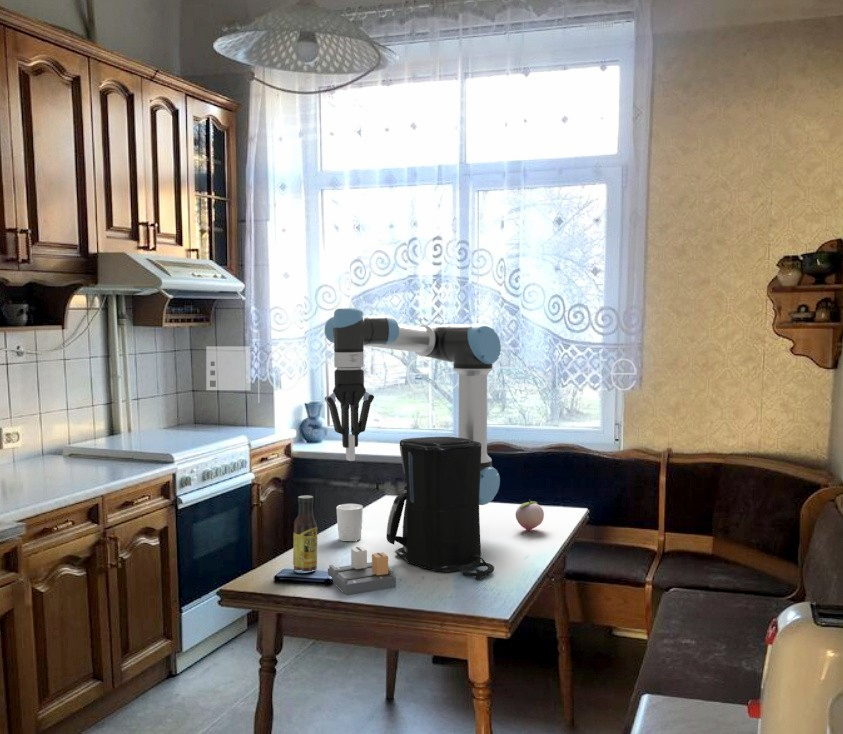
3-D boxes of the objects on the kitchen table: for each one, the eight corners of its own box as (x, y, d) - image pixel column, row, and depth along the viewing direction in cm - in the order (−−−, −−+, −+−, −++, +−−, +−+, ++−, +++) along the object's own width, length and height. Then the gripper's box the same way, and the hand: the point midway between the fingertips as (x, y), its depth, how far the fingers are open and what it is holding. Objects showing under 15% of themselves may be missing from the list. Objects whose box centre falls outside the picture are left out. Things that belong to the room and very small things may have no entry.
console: (327, 578, 205) (327, 563, 205) (375, 571, 210) (374, 557, 210) (346, 594, 192) (346, 579, 192) (395, 587, 198) (395, 572, 197)
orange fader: (372, 571, 200) (371, 553, 200) (383, 569, 202) (382, 551, 201) (377, 575, 197) (377, 556, 197) (388, 573, 198) (388, 555, 198)
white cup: (332, 541, 239) (331, 508, 238) (344, 534, 246) (344, 502, 246) (355, 544, 236) (355, 510, 235) (367, 537, 243) (367, 504, 243)
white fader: (351, 565, 205) (351, 547, 205) (362, 563, 207) (362, 546, 206) (355, 569, 202) (355, 551, 202) (367, 567, 204) (366, 549, 203)
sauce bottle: (306, 576, 206) (305, 500, 205) (288, 572, 209) (287, 497, 208) (322, 569, 212) (321, 495, 211) (304, 566, 215) (303, 493, 214)
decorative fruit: (536, 536, 243) (536, 503, 243) (512, 532, 247) (512, 500, 247) (548, 529, 251) (548, 497, 251) (524, 525, 255) (524, 495, 255)
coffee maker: (424, 542, 237) (424, 430, 235) (521, 560, 219) (521, 438, 217) (377, 561, 219) (376, 439, 217) (478, 583, 200) (478, 450, 198)
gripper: (329, 370, 198) (331, 464, 200) (378, 368, 204) (379, 460, 205) (320, 368, 205) (321, 459, 206) (367, 367, 210) (368, 455, 212)
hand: (350, 459), depth 206 cm, fingers closed
